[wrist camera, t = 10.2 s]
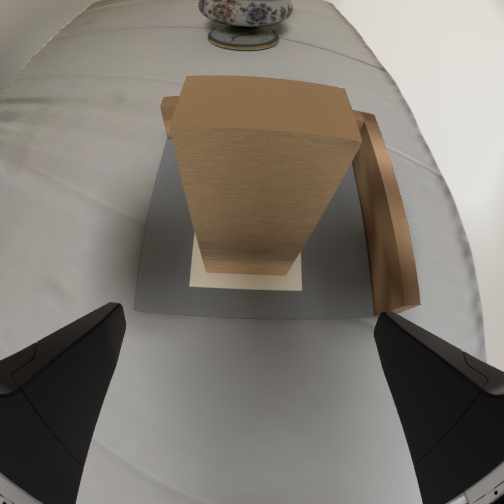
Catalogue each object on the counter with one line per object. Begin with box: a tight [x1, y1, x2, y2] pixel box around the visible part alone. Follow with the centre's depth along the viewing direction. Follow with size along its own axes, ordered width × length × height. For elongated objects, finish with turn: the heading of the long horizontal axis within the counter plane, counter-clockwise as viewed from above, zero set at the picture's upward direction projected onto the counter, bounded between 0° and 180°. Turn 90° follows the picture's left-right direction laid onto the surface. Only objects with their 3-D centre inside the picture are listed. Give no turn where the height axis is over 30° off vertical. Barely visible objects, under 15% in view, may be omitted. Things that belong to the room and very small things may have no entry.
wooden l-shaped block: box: [170, 76, 362, 276], centre depth 13 cm, size 8×5×12 cm, turn 179°
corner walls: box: [160, 96, 421, 317], centre depth 18 cm, size 15×17×4 cm
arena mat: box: [134, 139, 374, 319], centre depth 20 cm, size 14×16×1 cm
